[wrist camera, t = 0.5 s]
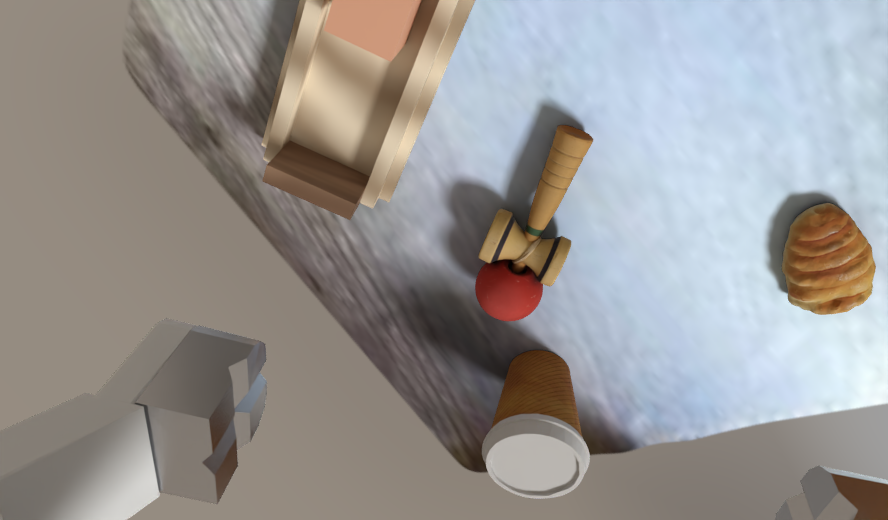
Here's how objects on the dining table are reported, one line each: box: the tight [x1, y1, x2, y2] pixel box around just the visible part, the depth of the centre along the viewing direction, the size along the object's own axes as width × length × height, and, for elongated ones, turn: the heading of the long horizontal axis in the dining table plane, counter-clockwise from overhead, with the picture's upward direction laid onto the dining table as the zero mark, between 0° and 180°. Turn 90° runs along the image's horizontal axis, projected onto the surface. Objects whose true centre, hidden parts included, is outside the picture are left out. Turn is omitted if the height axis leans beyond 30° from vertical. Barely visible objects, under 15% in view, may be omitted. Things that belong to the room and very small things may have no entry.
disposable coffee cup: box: [482, 350, 590, 499], centre depth 60 cm, size 10×10×12 cm
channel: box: [262, 0, 475, 220], centre depth 48 cm, size 20×12×6 cm, turn 157°
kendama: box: [475, 125, 593, 321], centre depth 53 cm, size 8×6×18 cm
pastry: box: [782, 203, 876, 315], centre depth 51 cm, size 9×7×4 cm
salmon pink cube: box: [324, 0, 422, 62], centre depth 44 cm, size 5×5×5 cm
